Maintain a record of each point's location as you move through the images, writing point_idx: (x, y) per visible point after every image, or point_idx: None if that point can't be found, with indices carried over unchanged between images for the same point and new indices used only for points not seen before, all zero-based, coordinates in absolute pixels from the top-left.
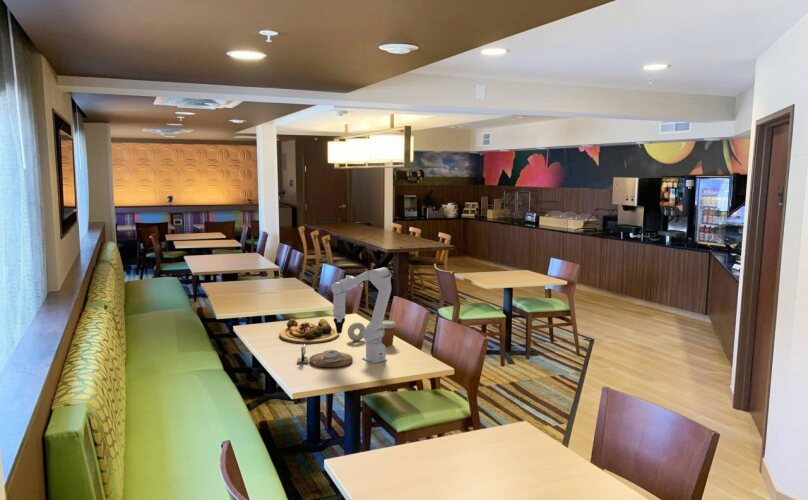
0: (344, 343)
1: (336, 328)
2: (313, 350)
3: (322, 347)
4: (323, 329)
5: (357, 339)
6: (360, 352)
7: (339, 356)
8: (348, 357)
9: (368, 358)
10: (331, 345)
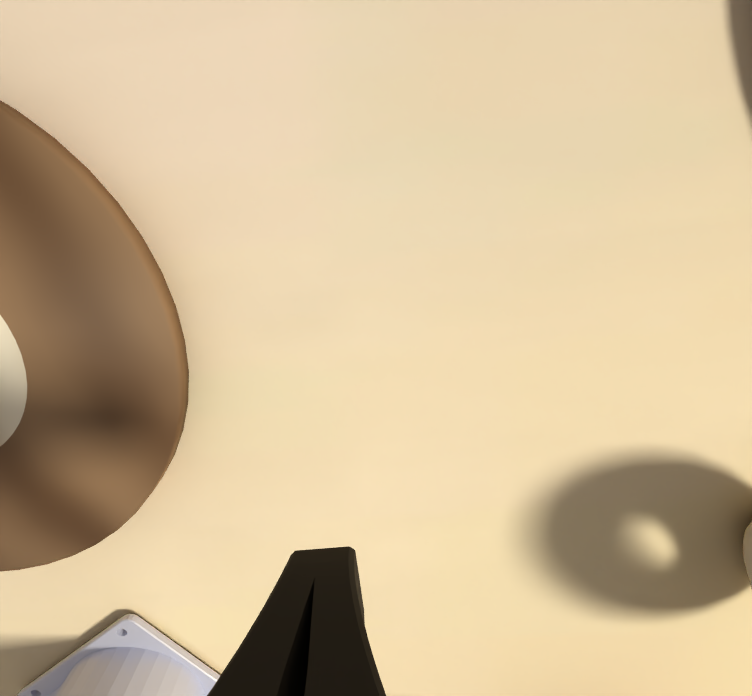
0: (683, 424)
1: (237, 655)
2: (381, 25)
3: (534, 156)
4: None
5: (745, 564)
6: None
7: (7, 446)
8: (6, 534)
9: (66, 678)
10: (619, 276)
